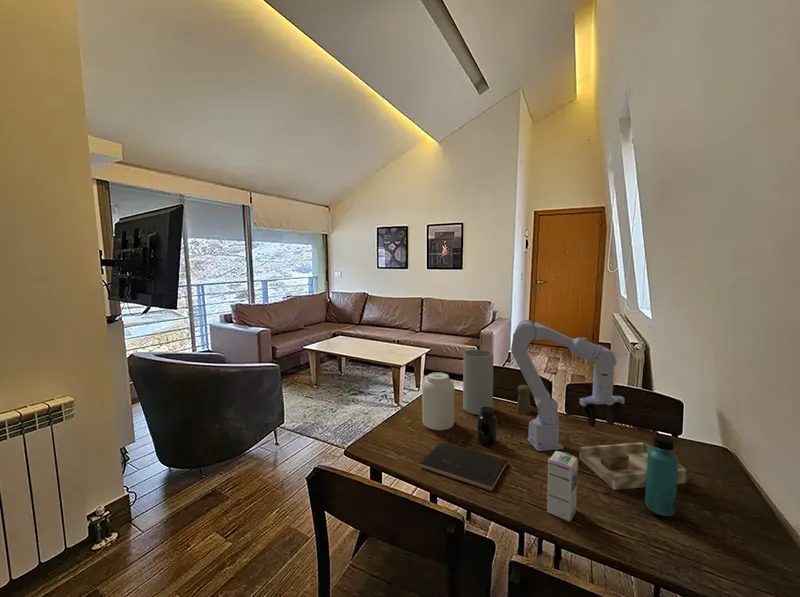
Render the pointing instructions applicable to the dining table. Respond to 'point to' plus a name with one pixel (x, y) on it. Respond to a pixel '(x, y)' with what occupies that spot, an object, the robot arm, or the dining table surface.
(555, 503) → the syrup box
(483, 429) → the supplement bottle
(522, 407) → the cork
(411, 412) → the dining table surface
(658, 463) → the beverage bottle
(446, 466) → the hardcover book
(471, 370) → the cylinder vase
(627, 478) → the trap box
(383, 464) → the dining table surface
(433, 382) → the white lidded jar
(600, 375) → the robot arm
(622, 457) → the walnut block
